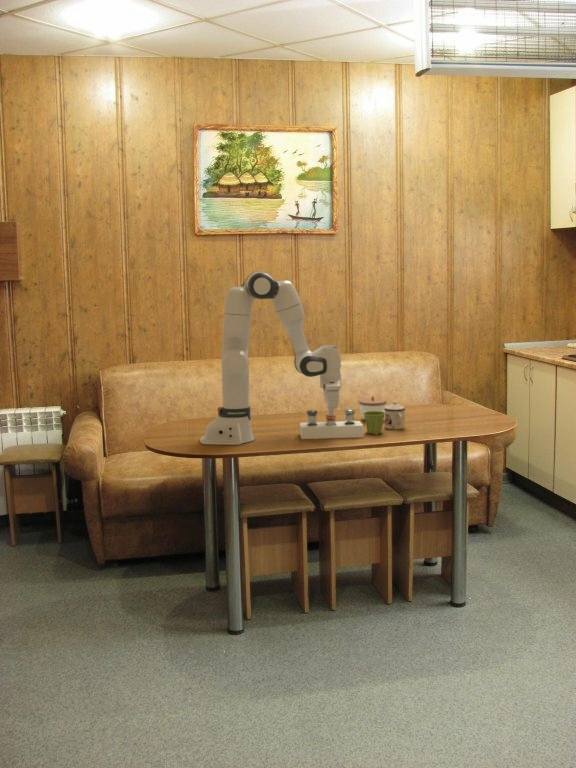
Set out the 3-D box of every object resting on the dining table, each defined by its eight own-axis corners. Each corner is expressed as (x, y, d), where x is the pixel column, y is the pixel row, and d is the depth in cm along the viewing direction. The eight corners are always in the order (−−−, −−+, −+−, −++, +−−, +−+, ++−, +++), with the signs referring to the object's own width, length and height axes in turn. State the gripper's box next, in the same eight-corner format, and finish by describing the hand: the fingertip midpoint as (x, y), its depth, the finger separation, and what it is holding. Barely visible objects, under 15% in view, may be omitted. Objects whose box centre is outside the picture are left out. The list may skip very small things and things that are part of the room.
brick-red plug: (326, 431, 340) (326, 416, 339) (325, 429, 344) (325, 414, 343) (336, 430, 340) (336, 416, 339) (335, 428, 344) (335, 414, 343)
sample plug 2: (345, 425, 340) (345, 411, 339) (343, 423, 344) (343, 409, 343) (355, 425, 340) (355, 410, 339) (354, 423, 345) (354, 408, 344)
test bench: (301, 439, 337) (301, 427, 336) (299, 434, 347) (299, 422, 346) (363, 437, 338) (363, 425, 338) (359, 432, 348) (359, 420, 347)
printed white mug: (381, 426, 360) (381, 400, 358) (399, 424, 362) (400, 399, 360) (391, 431, 348) (391, 405, 346) (411, 430, 351) (411, 403, 349)
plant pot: (368, 435, 341) (368, 415, 339) (360, 431, 350) (359, 411, 348) (388, 434, 343) (388, 414, 342) (380, 429, 352) (380, 410, 351)
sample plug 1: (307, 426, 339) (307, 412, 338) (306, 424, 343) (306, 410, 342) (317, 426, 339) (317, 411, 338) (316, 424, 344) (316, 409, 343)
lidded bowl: (362, 423, 367) (362, 399, 366) (356, 417, 380) (356, 394, 378) (389, 422, 369) (389, 398, 367) (382, 416, 381) (382, 393, 380)
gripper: (320, 379, 349) (321, 411, 351) (325, 387, 329) (326, 420, 331) (335, 379, 350) (335, 410, 352) (341, 386, 329) (341, 419, 331)
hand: (331, 415), depth 341 cm, fingers closed
